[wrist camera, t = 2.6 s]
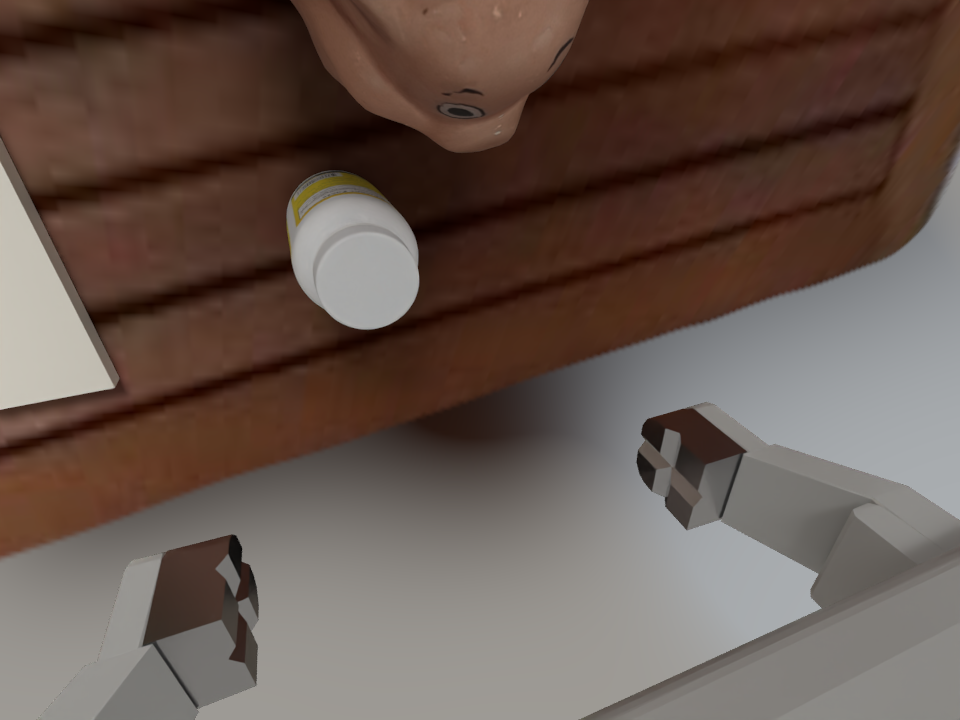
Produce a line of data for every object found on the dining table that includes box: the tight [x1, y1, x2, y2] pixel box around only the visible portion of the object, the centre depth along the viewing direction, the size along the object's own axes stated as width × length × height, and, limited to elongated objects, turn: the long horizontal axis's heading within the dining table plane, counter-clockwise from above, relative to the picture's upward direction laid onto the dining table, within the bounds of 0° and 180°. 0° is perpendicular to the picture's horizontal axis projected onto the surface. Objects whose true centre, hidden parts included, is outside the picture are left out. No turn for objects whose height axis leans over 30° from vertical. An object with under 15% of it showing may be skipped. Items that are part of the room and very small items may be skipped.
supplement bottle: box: [286, 170, 419, 330], centre depth 23 cm, size 5×5×10 cm
